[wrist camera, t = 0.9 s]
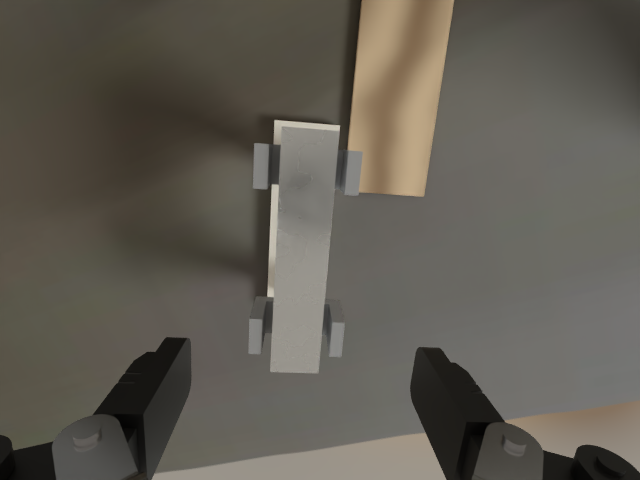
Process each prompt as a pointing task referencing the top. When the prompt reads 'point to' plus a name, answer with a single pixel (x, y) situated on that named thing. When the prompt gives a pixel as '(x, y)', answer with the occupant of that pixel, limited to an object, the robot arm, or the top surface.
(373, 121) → the mat
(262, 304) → the rail stand
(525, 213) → the top surface
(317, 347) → the rail
